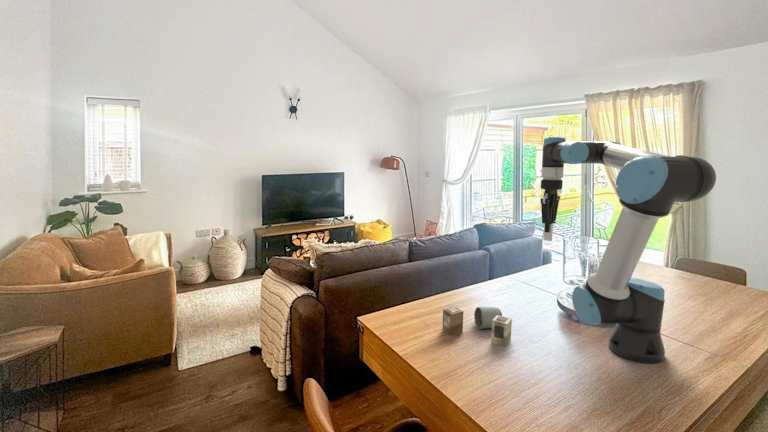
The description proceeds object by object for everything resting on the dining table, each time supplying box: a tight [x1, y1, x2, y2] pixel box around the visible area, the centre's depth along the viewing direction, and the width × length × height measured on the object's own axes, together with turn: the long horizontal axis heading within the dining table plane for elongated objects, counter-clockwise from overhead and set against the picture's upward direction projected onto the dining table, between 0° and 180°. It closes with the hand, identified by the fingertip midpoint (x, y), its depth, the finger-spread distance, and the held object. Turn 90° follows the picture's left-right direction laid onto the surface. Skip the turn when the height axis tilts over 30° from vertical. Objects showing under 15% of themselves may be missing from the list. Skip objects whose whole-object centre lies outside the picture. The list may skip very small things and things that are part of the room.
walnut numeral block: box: [441, 306, 464, 337], centre depth 140 cm, size 5×5×8 cm
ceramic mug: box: [473, 306, 503, 330], centre depth 145 cm, size 11×8×8 cm
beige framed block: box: [490, 315, 513, 347], centre depth 132 cm, size 5×5×8 cm
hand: (547, 240), depth 152 cm, fingers closed
